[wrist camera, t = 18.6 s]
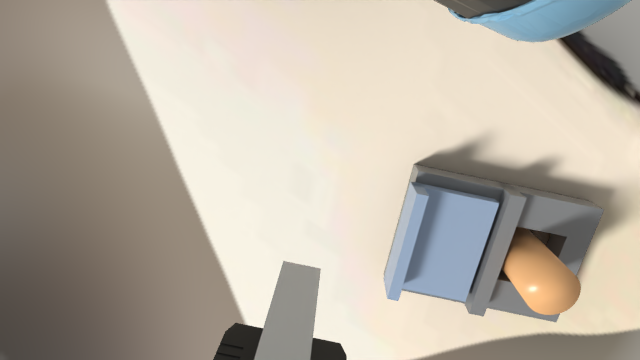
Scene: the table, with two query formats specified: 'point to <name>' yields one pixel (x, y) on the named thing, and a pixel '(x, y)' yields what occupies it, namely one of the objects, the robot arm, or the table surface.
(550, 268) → the pin
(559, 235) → the housing
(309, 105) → the table surface
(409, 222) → the lid
